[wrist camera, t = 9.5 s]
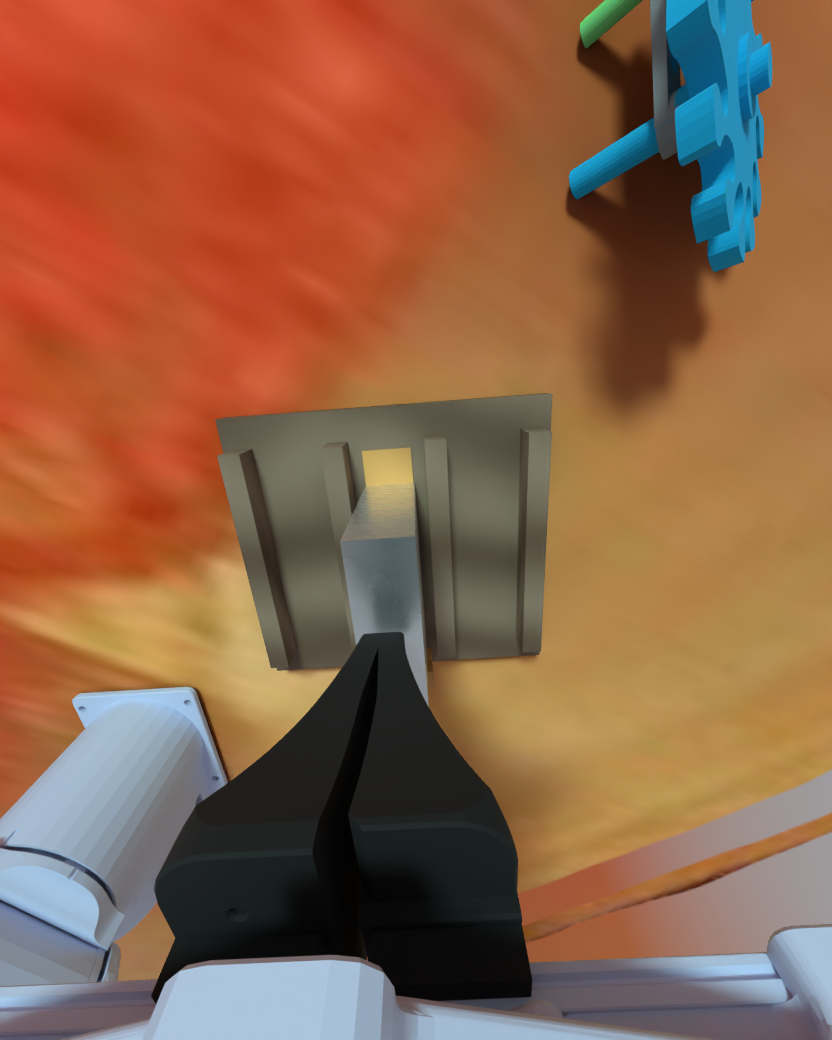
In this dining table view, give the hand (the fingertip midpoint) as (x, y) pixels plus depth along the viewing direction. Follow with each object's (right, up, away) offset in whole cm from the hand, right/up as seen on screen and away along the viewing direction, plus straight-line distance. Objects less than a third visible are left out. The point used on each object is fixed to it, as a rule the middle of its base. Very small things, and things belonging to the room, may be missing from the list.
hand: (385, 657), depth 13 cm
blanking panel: (0, +3, +8) cm, 8 cm away
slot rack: (0, +3, +9) cm, 9 cm away
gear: (+11, +20, +3) cm, 23 cm away
